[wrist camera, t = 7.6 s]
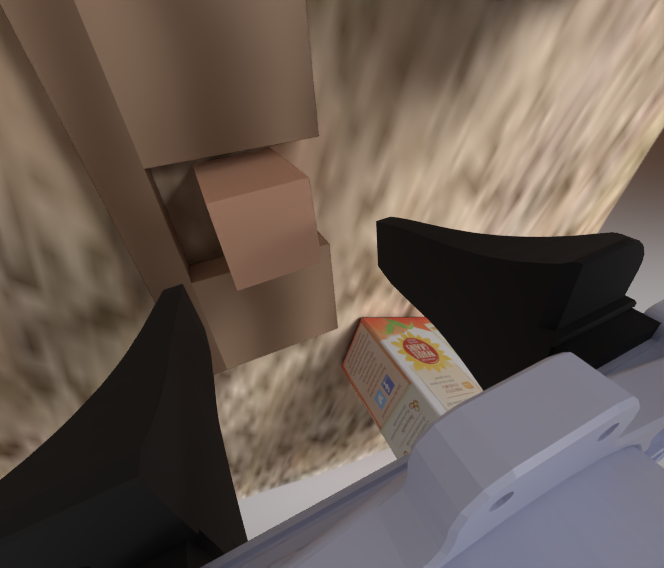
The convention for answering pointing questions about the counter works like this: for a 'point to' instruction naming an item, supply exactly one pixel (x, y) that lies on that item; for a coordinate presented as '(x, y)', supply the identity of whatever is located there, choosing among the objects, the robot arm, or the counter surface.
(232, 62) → the notched board
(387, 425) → the cracker box
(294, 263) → the terracotta plug
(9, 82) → the counter surface
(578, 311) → the robot arm
